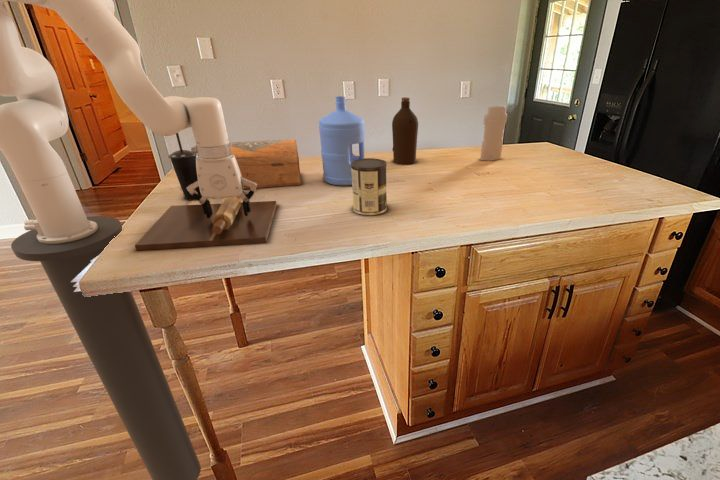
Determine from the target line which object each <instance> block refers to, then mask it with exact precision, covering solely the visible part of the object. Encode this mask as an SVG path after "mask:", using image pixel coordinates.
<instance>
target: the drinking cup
mask: <svg viewBox="0 0 720 480" xmlns="http://www.w3.org/2000/svg"><path fill="white" fill-rule="evenodd" d="M175 135H176V140H177V145H178V148H179V150H175V151H173V152H172V153H171V154H168V159H169V160H170V162H171V163H172V164H171V165H172V167H173V170H174V172H175V175H176V178H177V181H178V183H179V186H180V188H181V192H182V195H183V197H184V199H185V200H188V201H193V200H196V199H195V198H193V197H192V195H191V194H190V193H189V192H188V190H187V189H186V188H187V187H188V186H189V185H191V184H192V183H194V182H196V181H197V180H198V178H197V170H196V158H197V156H198V154H197V153H192V151H191V150H188V149H183V146H182V142H181V139H180V136H179V132H178V133H176V134H175ZM195 190H196V192H198V193H200V189H199V186H198V187H197V188H195ZM200 194H201V193H200Z"/></svg>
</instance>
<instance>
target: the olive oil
mask: <svg viewBox="0 0 720 480" xmlns="http://www.w3.org/2000/svg"><path fill="white" fill-rule="evenodd" d="M410 99H411V98H410V97H401V101H400V109H399V110H398V111H397V112H396V113H395V115H394V116H393V118H392V122H391V131H392V132H391V133H392V148H391V149H392V155H393V156H392V157H393V162H394V164H397V165H412V164H415V163H416V161H417V148H418V147H417V146H418V145H417V144H418V134H419V120H418V117H417V115H416V114H415V113H414V112H413V110H412V109H411V101H410Z"/></svg>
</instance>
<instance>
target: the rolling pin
mask: <svg viewBox="0 0 720 480" xmlns="http://www.w3.org/2000/svg"><path fill="white" fill-rule="evenodd" d="M221 203H222V204H221ZM221 203H220V204H221V205H220V207H219V209H218V210H217V212H216V213H215V215H214V217H213V218H212V222H213V226H214V227H213V229H212V230H213V232H214V233H215V234H221V233H222V231H223V230H228V228H229V227H230V226H231V225H232V223H233V221H234V219H235V217H236V215H237V213H238V211H239V209H240V207H241V203H242V202H241V198H240V197H239V196H237V197H224V199H223V201H222V202H221Z"/></svg>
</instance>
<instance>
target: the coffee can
mask: <svg viewBox="0 0 720 480" xmlns="http://www.w3.org/2000/svg"><path fill="white" fill-rule="evenodd" d="M387 163H388V162H387V161H386V160H384V159H380V158H374V157H373V158H372V157H371V158H369V157H368V158H367V157H366V158H365V159H358V160H354V161H352V162H351V172H352V185H351V187H352V206H353V212H354V213H356V214H358V215H363V216H376V215H382V214H383V213H385V212H386V211H387V210H388V207H387V206H388V205H387V203H388V202H387V165H388V164H387Z"/></svg>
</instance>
